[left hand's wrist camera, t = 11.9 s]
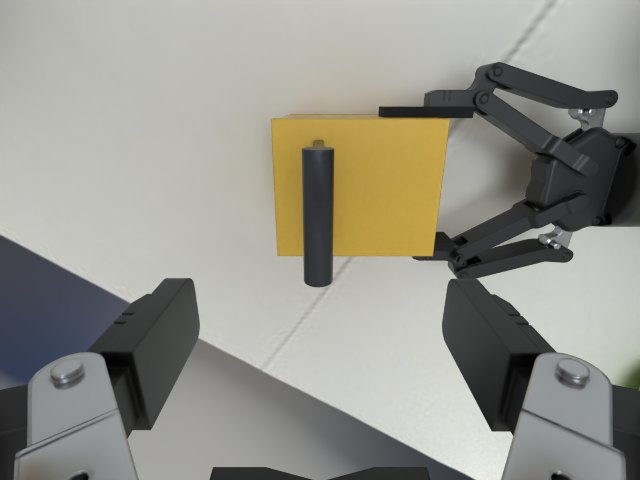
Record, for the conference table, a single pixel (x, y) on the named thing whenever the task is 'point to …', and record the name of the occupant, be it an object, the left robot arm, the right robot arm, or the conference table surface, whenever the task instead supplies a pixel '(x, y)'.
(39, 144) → the conference table surface
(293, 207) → the lid
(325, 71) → the conference table surface
